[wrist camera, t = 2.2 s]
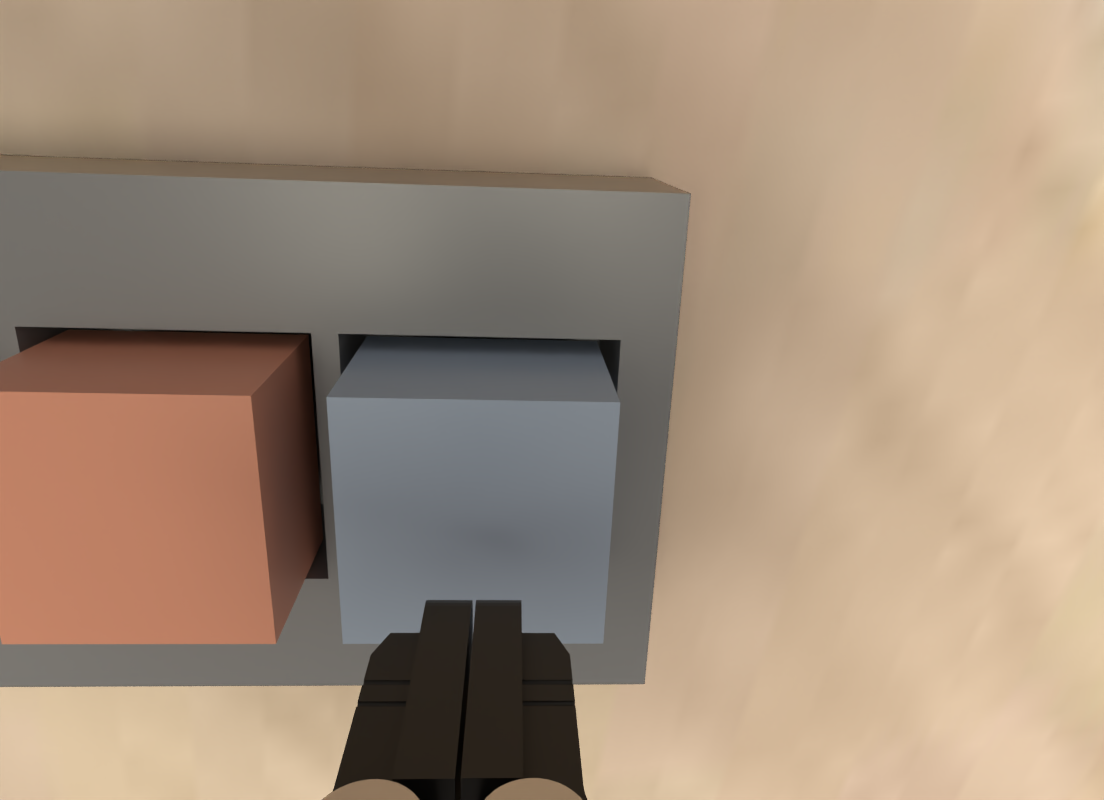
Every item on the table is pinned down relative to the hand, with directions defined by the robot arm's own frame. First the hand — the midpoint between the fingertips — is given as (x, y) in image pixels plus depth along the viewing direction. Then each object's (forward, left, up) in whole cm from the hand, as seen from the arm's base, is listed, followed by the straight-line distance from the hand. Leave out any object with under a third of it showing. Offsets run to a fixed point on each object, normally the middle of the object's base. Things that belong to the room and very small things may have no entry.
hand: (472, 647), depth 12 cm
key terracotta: (-7, 0, -8) cm, 11 cm away
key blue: (0, 0, -8) cm, 8 cm away
